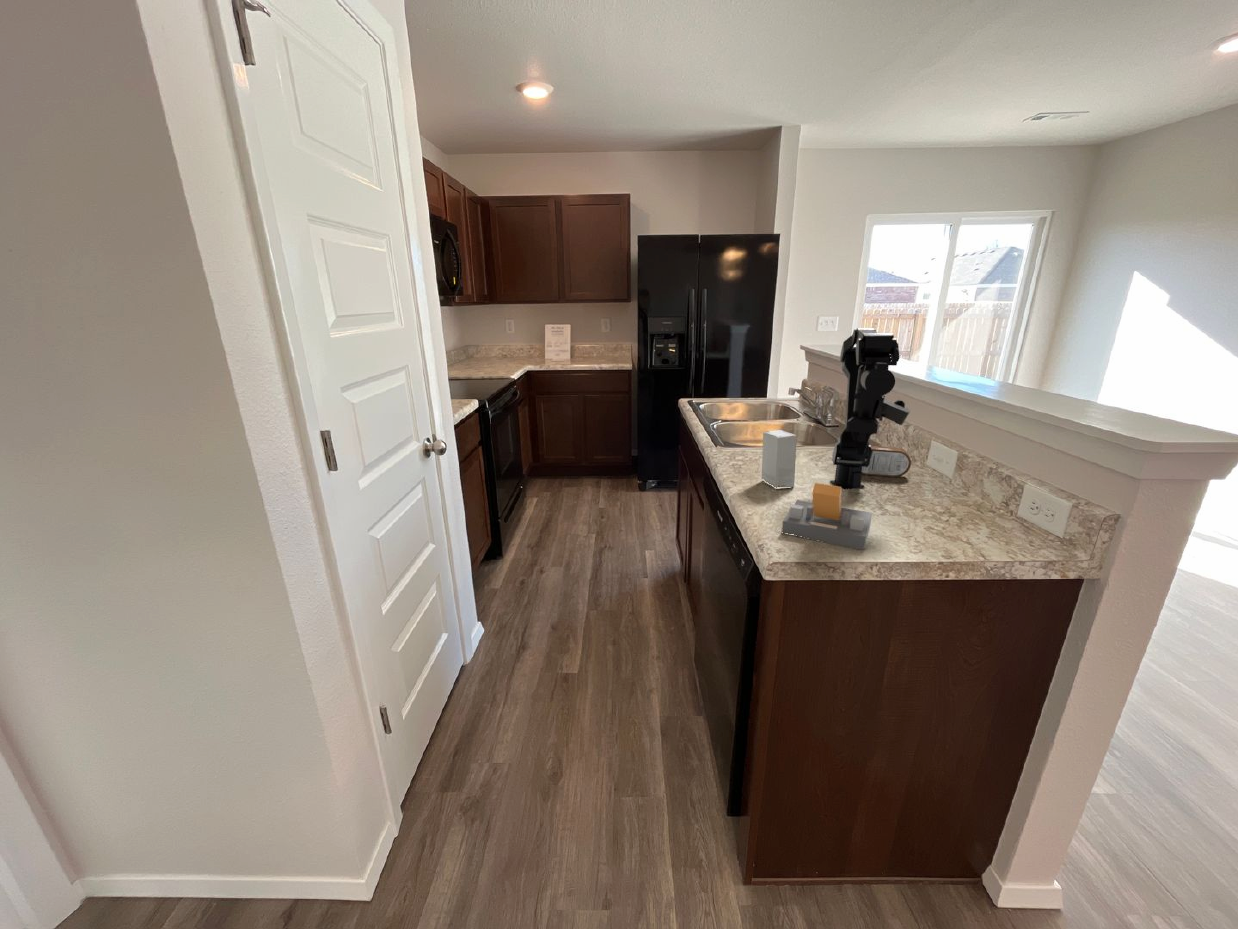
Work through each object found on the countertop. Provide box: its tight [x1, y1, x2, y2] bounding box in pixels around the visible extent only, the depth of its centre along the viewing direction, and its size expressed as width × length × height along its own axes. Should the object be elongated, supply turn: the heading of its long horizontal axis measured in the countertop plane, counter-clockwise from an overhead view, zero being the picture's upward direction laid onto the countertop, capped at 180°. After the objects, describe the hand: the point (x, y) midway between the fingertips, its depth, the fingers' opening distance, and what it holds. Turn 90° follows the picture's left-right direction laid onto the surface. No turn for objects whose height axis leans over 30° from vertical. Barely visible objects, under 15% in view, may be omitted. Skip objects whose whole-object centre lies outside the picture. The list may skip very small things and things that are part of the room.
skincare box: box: [761, 429, 798, 488], centre depth 133 cm, size 8×6×15 cm
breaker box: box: [781, 499, 873, 551], centre depth 105 cm, size 14×16×5 cm
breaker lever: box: [811, 482, 842, 520], centre depth 100 cm, size 2×5×10 cm
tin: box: [862, 445, 912, 478], centre depth 140 cm, size 15×3×8 cm, turn 71°
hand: (861, 454), depth 115 cm, fingers closed
